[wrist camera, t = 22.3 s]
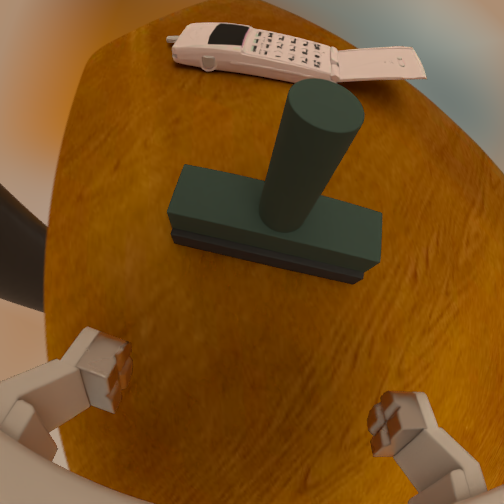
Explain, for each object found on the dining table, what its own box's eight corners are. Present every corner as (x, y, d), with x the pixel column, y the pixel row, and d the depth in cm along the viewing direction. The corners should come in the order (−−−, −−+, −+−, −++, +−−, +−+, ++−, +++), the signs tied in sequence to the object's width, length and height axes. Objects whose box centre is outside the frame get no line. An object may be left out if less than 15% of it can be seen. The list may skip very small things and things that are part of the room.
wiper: (173, 243, 19) (125, 109, 8) (191, 190, 20) (172, 42, 9) (353, 284, 19) (479, 205, 8) (358, 230, 21) (461, 124, 10)
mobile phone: (431, 80, 20) (144, 20, 19) (403, 121, 25) (151, 69, 24) (416, 48, 22) (169, -5, 21) (394, 85, 27) (171, 39, 26)
